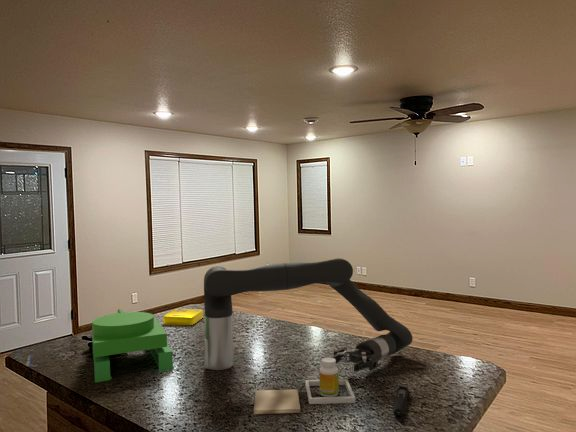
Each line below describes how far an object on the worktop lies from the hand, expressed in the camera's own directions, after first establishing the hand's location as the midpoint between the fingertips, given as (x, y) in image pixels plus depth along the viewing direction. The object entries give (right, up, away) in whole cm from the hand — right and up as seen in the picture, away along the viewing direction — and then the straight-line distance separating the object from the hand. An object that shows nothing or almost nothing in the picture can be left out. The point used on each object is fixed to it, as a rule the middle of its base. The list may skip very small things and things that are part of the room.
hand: (343, 364), depth 129 cm
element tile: (-66, -6, +76) cm, 100 cm away
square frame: (-5, -7, -5) cm, 9 cm away
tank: (-73, -7, +26) cm, 77 cm away
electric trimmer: (+14, -7, -13) cm, 20 cm away
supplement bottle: (-5, -7, -5) cm, 10 cm away
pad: (-19, -7, -11) cm, 23 cm away
